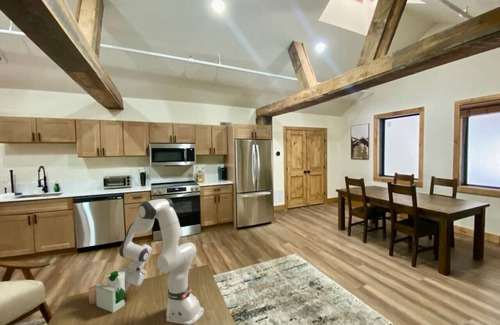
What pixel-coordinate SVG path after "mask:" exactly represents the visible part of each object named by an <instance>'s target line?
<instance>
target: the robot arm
mask: <svg viewBox="0 0 500 325" xmlns="http://www.w3.org/2000/svg"><path fill="white" fill-rule="evenodd" d="M155 219H157V221H158V223H159V228H160V232H161V237H162V249H161V251H160V254H159V255H158V258H157V260H156V265H157V269H158V270H159V271H161V273H168V272H170V273H169V274H168V279H167V281H168V282H167V284H168V285H167V286H168V289H167V297H168V298H167V299H168V300H167V307H166V311H165V316H166V322H168V323H169V322H170V323H173V324H174V323H175V324H181V325H193V324H194V323H196V322H197V321H198V320H200V318H201V317H202V316H203V314H204V312H205V308H204V307H202V306H201V305H200V304H201V303H200V301H199V300H198V298H197V297H196V296H194V295H193V293H191V292H192V288H190V287H189V271H190V269H191V265H192V262H193V259H194V258H195V257H196V255H197V252H198V251H197V247H196V245H195V244H194V243H193V242H184V243H182V244H179V240H180V239H181V237H182V235H183V234H182V233H183V231H182V229H181V225H180V220H179V218H178V215H177V213H176V210H175V209H174V203H173V201H172V199H171V198H168V197H162V198H157V199H151V200H148V201H144V202H142V203H140V204H139V205H138V207H137V214H136V218H135V221H134V222H132V223H131V224H130V225H129V227H128V228H127V231H126V232H125V233H126V234H125V236H124V239H123V241H122V243H121V245H120V247H119V249H118V253H119V256H120V257H122V258H127V259H129V260H132V261H131V263H130V264H129V265H128V266H126V265H125V266H123V267H122V268H121V269H120V271H125V291H127V289H128V288H129V287H130V286H131V285H132V286H136V287H140V286H141V285H142V283H143V281H144V279H145V277H146V275H147V272H148V271H146V270H145V269H144V267H145V264H146V263H147V261H148V260H149V258H150V256H151V253H152V251H153V248H152V246H150V245H149V244H146V243H144V244H142V245H140V244H137V243H134V242H133V238H134V236H135V234H145V233H147V232H149V231H150V230H152V228H153V226H154V223H155Z"/></svg>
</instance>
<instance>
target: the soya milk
mask: <svg viewBox="0 0 500 325" xmlns="http://www.w3.org/2000/svg"><path fill="white" fill-rule="evenodd" d="M106 283H107V286H109V287H112V288H115V289H116V292H115V303H116V304H117V303H119V302H120V301H122V300H125V299H126V290H125V286H126V284H125V271H121V270H114V271H112V272H110V274H109V275H108V276H106Z"/></svg>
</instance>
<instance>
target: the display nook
mask: <svg viewBox="0 0 500 325" xmlns="http://www.w3.org/2000/svg"><path fill="white" fill-rule="evenodd" d="M95 285H96V298H97V303H96V307H98V308H100V309H103V310H106V311H107V312H111V313H113V314H114V313H115V312H116V311H118V310H120V309H121V308H123V307H124V306H125V299H124V300H122V301H120V302H119V303H117V304H116V303H115V292H116V289H115V288H112V287H109V286H108V285H105V284H102V283H98V284H95Z"/></svg>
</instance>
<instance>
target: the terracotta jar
mask: <svg viewBox="0 0 500 325" xmlns="http://www.w3.org/2000/svg"><path fill="white" fill-rule="evenodd" d="M96 285H97V284H95V285H91V286H90V287H89V288H88V301H89V305H97V298H96Z"/></svg>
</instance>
